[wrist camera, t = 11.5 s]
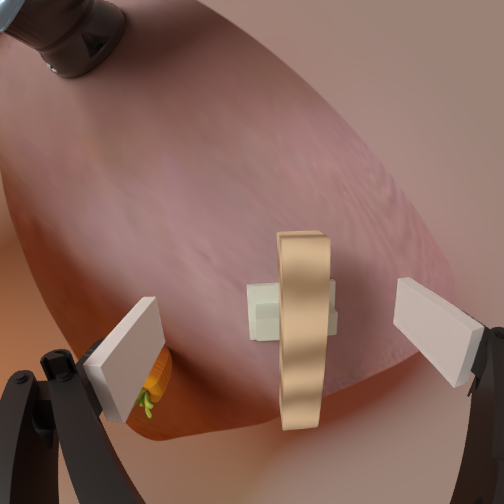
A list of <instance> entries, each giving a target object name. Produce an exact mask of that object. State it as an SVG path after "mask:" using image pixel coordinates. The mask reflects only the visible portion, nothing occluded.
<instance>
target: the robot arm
mask: <svg viewBox="0 0 504 504" xmlns="http://www.w3.org/2000/svg"><path fill="white" fill-rule="evenodd" d="M124 29H125V17H124V15H123V13H122V12H121V11H120V9H119V8H118V7H117V6H116V5H115V4H113V3H110V2H107V1H104V0H0V32H3V33H5V34H7V35H9V36H11V37H13V38H15V39H17V40H19V41H20V42H22V43H24V44H26V45H28V46H30V47H32V48H34V49H35V50H37V51H39V53H40V54H41V56H42V58H43V59H44V61H45V62H46V64H47V66H48V67H49V69H50V70H51V71H52V72H54V73H55V74H57V75H59V76H61V77H65V78H72V77H77V76H80V75H82V74H84V73H86V72H88V71H90V70H92V69H93V68H95V67H96V66H97V65H99V64H100V63H101V62H102V61H103V60H104V59H106V57H108V55H109V54H110V53H111V52H112V51H113V50H114V48H115V47H116V46H117V44H118V42H119V41H120V39H121V37H122V35H123V32H124ZM393 324H394V325H395V326H396V327H397V328H398V329H399V330H400V331H401V332H402V333H403V334H404V335H405V336H406V337H407V338H408V339H409V340H410V341H411V342H412V343H413V344H414V345H415V346H416V347H417V348H418V349H419V350H420V352H421V353H422V354H423V355H424V356H425V357H426V358H427V359H428V360H429V361H430V362H431V363H432V364H433V365H434V366H435V368H436V369H437V370H438V371H439V372H440V373H441V374H442V375H443V376H444V377H445V378H446V379H447V381H448V382H449V383H450V384H451V385H452V386H453V387H454V388H455V387H458V386H460V385H463V384H465V383H467V380H468V378H469V375H470V372H472V373H474V374H475V378H474V380H473V383H472V385H471V388H470V390H469V393H468V395H467V396H468V397H469V396H470V394H471V393H472V398H471V408H470V417H469V424H468V431H467V437H466V443H465V448H464V453H463V457H462V463H461V466H460V470H459V475H458V478H457V482H456V485H455V489H454V492H453V496H452V498H451V501H450V504H504V328H503V327H495V328H492V329H491V330H490V329H489V328H487V327H486V326H485V325H483V324H482V323H480V322H479V321H477V320H475V319H474V318H473V317H471V316H469V315H468V314H467V313H465V312H464V311H462V310H460V309H458V308H457V307H455V306H453V305H452V304H450V303H449V302H447V301H446V300H444V299H443V298H441V297H440V296H438V295H437V294H435V293H433V292H432V291H430V290H429V289H427V288H426V287H424V286H422V285H421V284H419V283H418V282H416V281H414V280H413V279H411V278H409V277H407V278H399V279H398V284H397V295H396V304H395V312H394V320H393ZM164 343H165V339H164V334H163V329H162V325H161V320H160V315H159V310H158V304H157V299H156V297H143V298H142V299H141V300H140V301H139V302H138V303H137V304H136V305H135V306H134V307H133V309H132V310H131V311H130V312H129V313H128V314H127V315H126V316H125V317H124V318H123V319H122V321H121V322H120V323H119V324H118V325H117V326H116V327H115V328H114V329H113V331H112V332H111V333H110V334H109V335H108V336H107V337H106V338H102V339H101V340H99V341H97V342H96V343H94V344H93V345H92V346H91V348H90V349H89V350H88V351H87V352H86V353H85V355H83V356H82V358H81V359H80V360H79V361H78V362H77V363H76V364H75V363H74V360H73V357H72V355H71V353H70V351H68V350H66V349H58V350H53V351H51V352H48V353H47V354H45V355H44V356H43V357H42V358H41V360H40V363H41V365H42V368H43V370H44V372H45V375H46V377H47V379H48V381H37V380H36V378H35V376H34V374H33V372H31V371H29V370H23V371H17V372H15V373H14V374H13V375H12V376H11V377H10V378H9V380H8V382H7V384H6V387H5V389H4V392H3V394H2V397H1V400H0V504H59V493H58V451H59V441H60V445H61V449H62V452H63V456H64V459H65V463H66V466H67V469H68V472H69V475H70V479H71V482H72V484H73V487H74V490H75V493H76V495H77V498H78V500H79V503H80V504H146V503H145V501H144V500H143V498H142V497H141V495H140V494H139V492H138V491H137V489H136V487H135V486H134V484H133V482H132V481H131V479H130V477H129V476H128V474H127V472H126V470H125V469H124V467H123V465H122V463H121V461H120V459H119V458H118V456H117V454H116V452H115V450H114V448H113V446H112V444H111V442H110V440H109V438H108V435H107V433H106V431H105V429H104V427H103V425H102V422H101V420H100V419H99V415H100V414H101V412H102V410H103V412H104V414H105V416H106V418H107V420H108V421H112V422H117V423H123V424H124V423H125V422H126V419H127V417H128V415H129V413H130V411H131V409H132V407H133V405H134V403H135V401H136V399H137V397H138V395H139V393H140V391H141V389H142V387H143V385H144V383H145V381H146V379H147V377H148V375H149V373H150V371H151V369H152V367H153V365H154V363H155V361H156V359H157V357H158V355H159V353H160V351H161V349H162V347H163V345H164Z"/></svg>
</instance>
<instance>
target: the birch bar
mask: <svg viewBox="0 0 504 504" xmlns="http://www.w3.org/2000/svg"><path fill="white" fill-rule="evenodd" d="M277 249H278V286H279V352H280V412H281V420H282V428H283V430H293V429H301V428H302V429H303V428H311V427H318V422H319V414H320V406H321V398H322V389H323V380H324V369H325V358H326V345H327V331H328V313H329V289H330V237H328V236H326V235H325V234H323V233H321V232H319V231H318V230H312V231H287V232H277Z"/></svg>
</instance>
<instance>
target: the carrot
mask: <svg viewBox="0 0 504 504" xmlns="http://www.w3.org/2000/svg"><path fill="white" fill-rule="evenodd" d="M171 371H172V357H171V354H170V351H169V349H168V348H167V347H162V349H161V351H160V353H159V355H158V357H157V359H156V361H155V363H154V365H153V367H152V369H151V371H150V373H149V375H148V377H147V379H146V381H145V383H144V385H143V387H142V389H141V391H140V393H139V395H138V397H137V399H136V401H135V403H134V405H133V406H135V405H136V404H137V402H138V401H139V400H141V401H140V406H143V405H144V402H145V411H146V414H147V416H148V418H152V414H151V412H150V409H152V407H153V404H152V402H158V401H159V400H160V399H161V397H162V395H163V393H164V392H165V390H166V387H167V384H168V382H169V379H170V376H171ZM132 408H133V407H132ZM149 408H150V409H149ZM131 410H132V409H131Z"/></svg>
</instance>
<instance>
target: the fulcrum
mask: <svg viewBox="0 0 504 504" xmlns="http://www.w3.org/2000/svg"><path fill="white" fill-rule="evenodd" d="M335 284H336V281H335V280H334V279H330V289H329V313H328V331H327V336H330V335H337V321H338V313H337V311H336V310H335ZM247 297H248V314H249V330H250V340H255V339H257V341H269V340H279V286H278V283H264V284H247Z"/></svg>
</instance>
